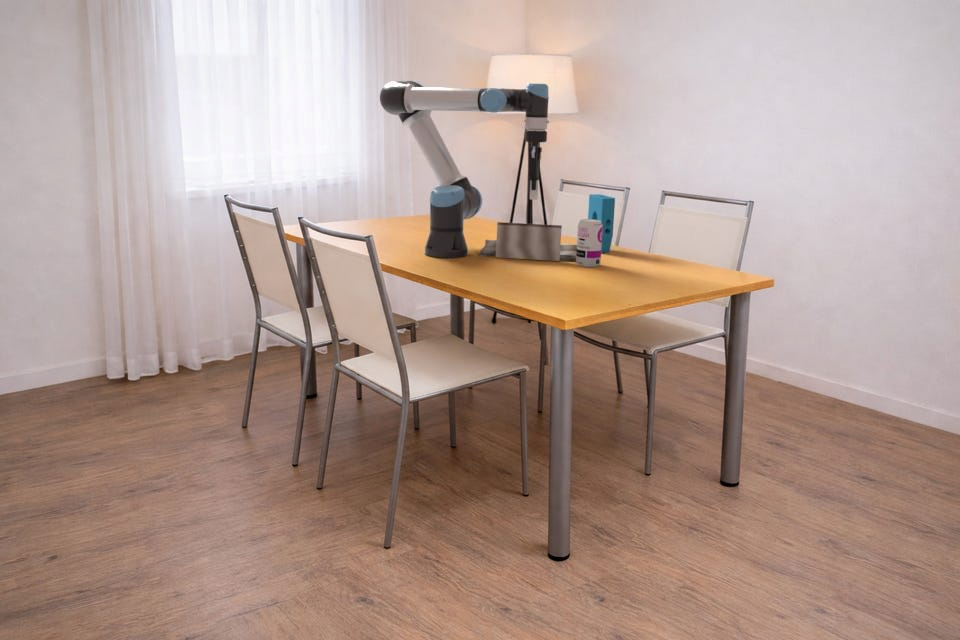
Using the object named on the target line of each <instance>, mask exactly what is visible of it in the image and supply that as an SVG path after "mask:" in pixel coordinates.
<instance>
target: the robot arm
mask: <svg viewBox="0 0 960 640" xmlns="http://www.w3.org/2000/svg"><path fill="white" fill-rule="evenodd" d="M549 98H550V97H549V86H548V84H546V83H527V84H526V87H525V88H523V89H521V88H520V89H516V88H497V87H491V88H480V87H478V88H477V87H425V86H424V85H422V84H421V83H419V82H416V81H413V80H400V81H399V80H393V81H392V80H391V81H389V82H388V83H386V84H384V85H383V87H382V89H380V94H379V102H380V105H381V107H382V108H383V110H384V111H385V112H386V113H387V114H391V115H393V116H398V118H399V119H400V121H401V123H402V125H403V126H405V127H407V128H409V129H410V132H411V133H412V135H413V137H414V139H415V141H416V142H417V144H418V146H419V148H420V150H421V153H422V154H423V156H424V158H425V160H426V161H427V164H428V165H429V168H430V170H431V172H432V174H433V175H434V177H435V179H436V180H437V182H438V185H439V186H436V187H435V186H434V187H433V188H432V189H431V191H430V197H429V202H430V203H429V211H430V212H429V234H428V237H427V239H426V244H425V247H424V255H426V256H429V257H432V258H433V257H434V258H441V259H442V258H446V259H448V258H452V259H453V258H463V257H466V256H468V254H469V253H468V252H469V248H468V244H467V241H466V238H465V234H464V220H468V219H469V220H470V219H471V218H473V217H474V216H476V215H478V213H479V212H480V210H481V209H482V205H483V196H482V194H481V191H480V190H479V189H478V188H477V187H475V186H474V185H472V183H471V182H470V180H469V179H468V176H466V175H463V174H461V172H460V170H459V168H458V167H457V165H456V163H455V161H454V159H453V156H452V155H451V153H450V151H449V149H448V147H447V145H446V144H445V141H444V140H443V138H442V135H441V134H440V133H439V132H440V131H439V130H438V129H437V126H436V124H435V123H434V120H433V119H432V117H431V113H432V112H433V111H438V112H439V111H440V112H441V111H443V112H444V111H445V112H447V111H448V112H449V111H450V112H451V111H452V112H483V113H495V114H496V113H505V112H506V113H507V112H513V113H515V112H519V113H520V112H522V113H525V117H524V118H525V120H524V122H525V123H524V125H525V126H524V129H525V131H524V141H525V142H526V143H531V144H530V147H529V148H528V154H529V178H527V180H528V181H529V200H532V201H533V200H535V201H537V200H539V181H541V177H540V172H541V171H540V169H541V159H542V158H541V157H542V151H543V147H541V143H546V142H547V139H548V131H546V130H547V129H548V124H550V120H548V117H549V116H548V113H549Z"/></svg>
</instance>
